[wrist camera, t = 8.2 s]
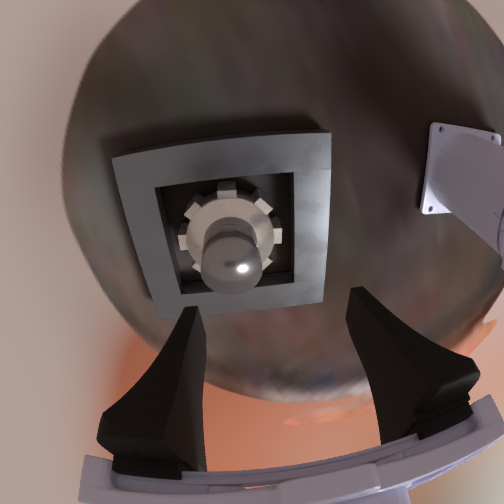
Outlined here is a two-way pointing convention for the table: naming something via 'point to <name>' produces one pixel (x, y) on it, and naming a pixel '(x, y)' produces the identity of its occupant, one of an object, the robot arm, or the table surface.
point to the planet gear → (230, 237)
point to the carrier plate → (225, 166)
